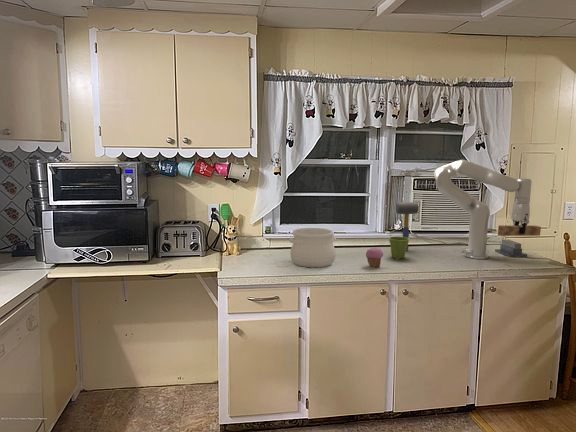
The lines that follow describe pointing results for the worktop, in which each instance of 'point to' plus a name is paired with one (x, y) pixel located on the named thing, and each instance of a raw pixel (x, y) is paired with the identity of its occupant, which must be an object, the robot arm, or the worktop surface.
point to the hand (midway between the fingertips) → (519, 232)
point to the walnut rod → (514, 230)
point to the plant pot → (398, 246)
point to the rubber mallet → (406, 214)
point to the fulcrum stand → (510, 249)
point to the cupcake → (374, 256)
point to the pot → (313, 247)
